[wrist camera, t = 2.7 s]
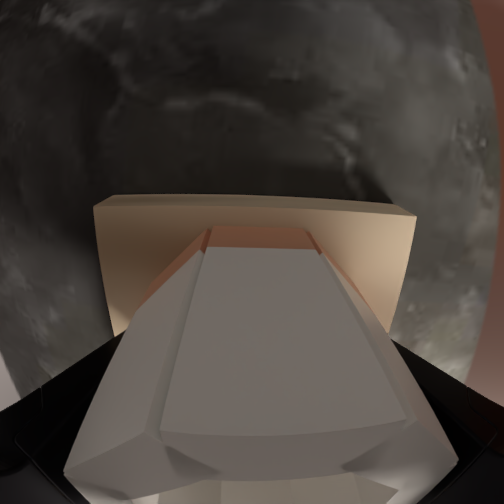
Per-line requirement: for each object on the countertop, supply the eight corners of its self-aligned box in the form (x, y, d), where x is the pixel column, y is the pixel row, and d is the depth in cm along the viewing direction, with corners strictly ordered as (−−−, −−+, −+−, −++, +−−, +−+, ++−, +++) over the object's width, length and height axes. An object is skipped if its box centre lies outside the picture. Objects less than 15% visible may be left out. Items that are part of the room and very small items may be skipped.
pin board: (306, 491, 17) (317, 566, 11) (179, 491, 16) (171, 566, 10) (394, 204, 9) (543, 302, 3) (113, 194, 9) (-36, 294, 3)
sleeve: (332, 389, 10) (374, 536, 5) (165, 388, 10) (134, 541, 4) (368, 231, 8) (518, 384, 2) (144, 224, 8) (4, 392, 2)
